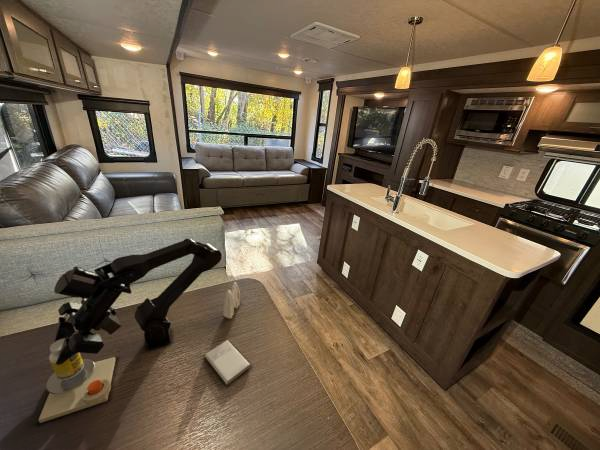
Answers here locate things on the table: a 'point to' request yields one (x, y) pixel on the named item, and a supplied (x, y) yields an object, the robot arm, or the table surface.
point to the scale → (80, 393)
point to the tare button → (95, 387)
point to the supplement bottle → (69, 366)
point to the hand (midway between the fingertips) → (56, 356)
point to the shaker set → (231, 301)
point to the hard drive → (227, 361)
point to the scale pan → (71, 379)
